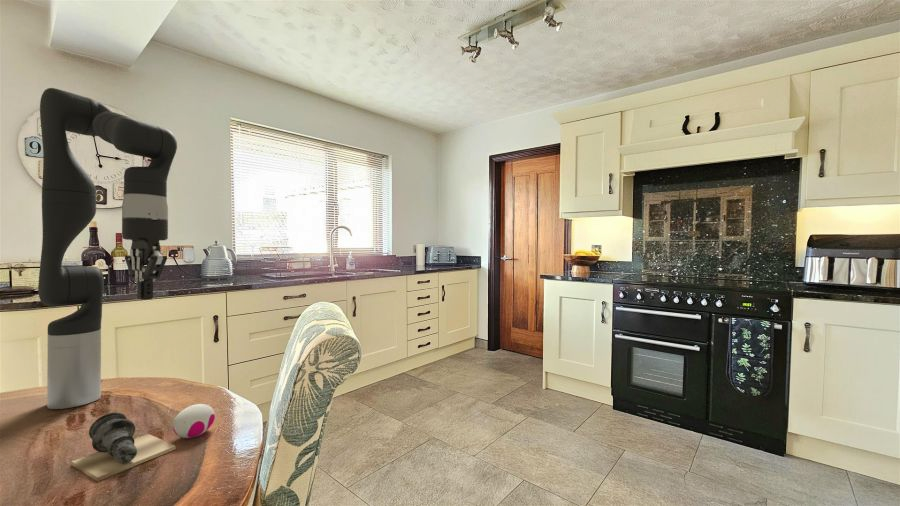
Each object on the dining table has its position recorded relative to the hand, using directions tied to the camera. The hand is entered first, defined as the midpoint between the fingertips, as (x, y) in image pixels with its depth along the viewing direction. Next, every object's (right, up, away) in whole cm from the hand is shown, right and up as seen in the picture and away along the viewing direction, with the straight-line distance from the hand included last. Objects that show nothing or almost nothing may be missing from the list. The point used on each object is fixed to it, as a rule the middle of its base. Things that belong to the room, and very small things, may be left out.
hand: (145, 299), depth 78 cm
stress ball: (+14, -27, -5) cm, 31 cm away
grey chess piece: (+2, -22, -10) cm, 24 cm away
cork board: (+7, -26, -13) cm, 30 cm away
